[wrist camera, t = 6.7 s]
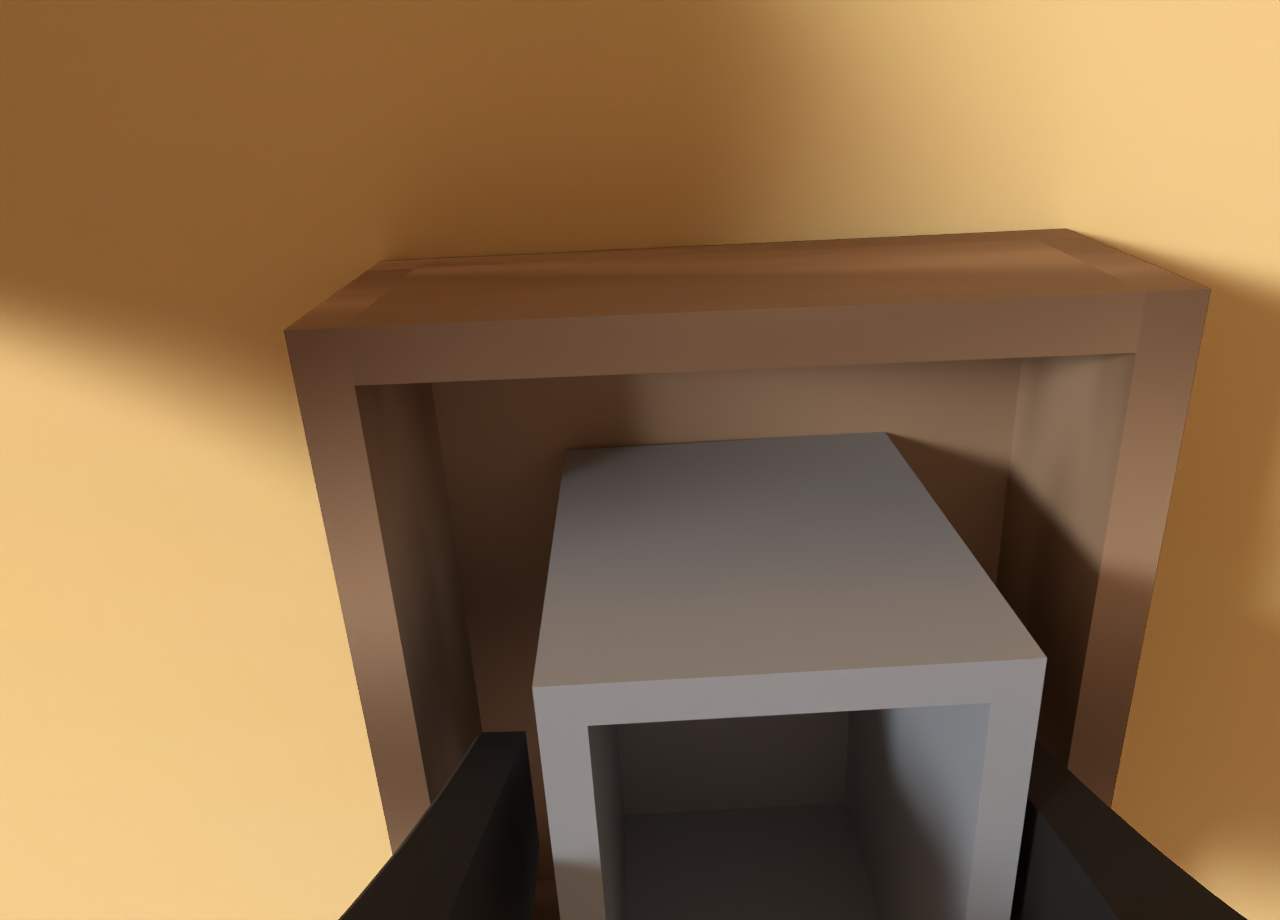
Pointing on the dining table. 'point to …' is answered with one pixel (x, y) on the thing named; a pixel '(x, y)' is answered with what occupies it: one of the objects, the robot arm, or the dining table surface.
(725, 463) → the grey crate
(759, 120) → the dining table surface
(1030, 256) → the walnut crate
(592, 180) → the dining table surface
